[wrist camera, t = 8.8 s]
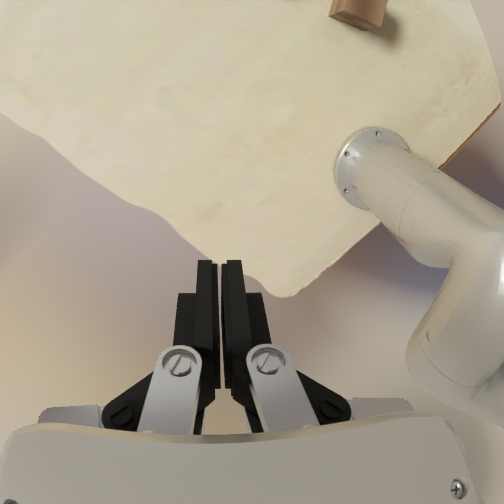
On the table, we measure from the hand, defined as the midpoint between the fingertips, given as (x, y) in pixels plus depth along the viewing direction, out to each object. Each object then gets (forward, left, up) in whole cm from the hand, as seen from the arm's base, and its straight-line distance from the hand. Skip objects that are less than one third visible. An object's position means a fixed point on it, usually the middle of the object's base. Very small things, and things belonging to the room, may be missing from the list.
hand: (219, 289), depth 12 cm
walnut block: (-8, -24, -29) cm, 39 cm away
